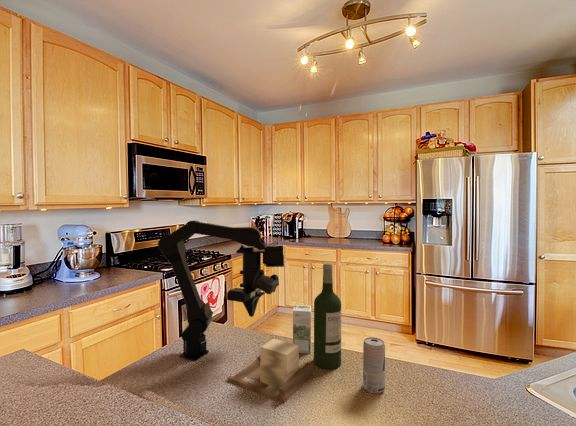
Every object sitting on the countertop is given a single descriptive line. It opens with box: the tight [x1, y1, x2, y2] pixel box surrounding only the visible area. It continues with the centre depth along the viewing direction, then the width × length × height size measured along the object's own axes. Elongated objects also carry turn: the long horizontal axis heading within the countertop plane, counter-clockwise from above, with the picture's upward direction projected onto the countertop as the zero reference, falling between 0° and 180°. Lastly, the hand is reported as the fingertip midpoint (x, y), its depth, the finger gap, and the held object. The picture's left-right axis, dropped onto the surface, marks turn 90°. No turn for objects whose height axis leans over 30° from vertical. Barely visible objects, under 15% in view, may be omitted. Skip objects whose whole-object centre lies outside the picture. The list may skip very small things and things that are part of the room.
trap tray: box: [226, 355, 313, 404], centre depth 79 cm, size 18×14×4 cm
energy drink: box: [362, 336, 386, 394], centre depth 77 cm, size 5×5×12 cm
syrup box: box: [292, 304, 312, 354], centre depth 96 cm, size 6×6×14 cm
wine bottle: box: [313, 262, 342, 371], centre depth 87 cm, size 8×8×30 cm
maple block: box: [259, 338, 300, 388], centre depth 78 cm, size 8×6×9 cm
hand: (251, 316), depth 95 cm, fingers closed
